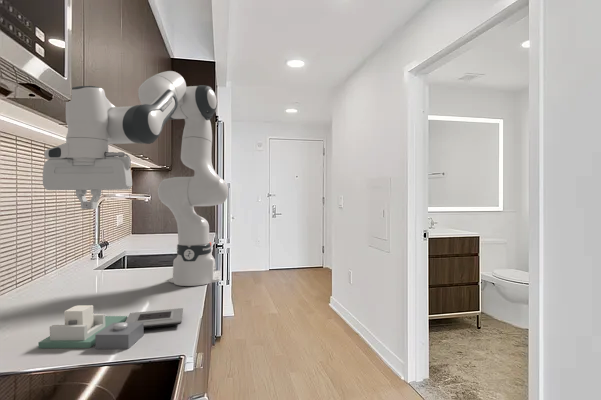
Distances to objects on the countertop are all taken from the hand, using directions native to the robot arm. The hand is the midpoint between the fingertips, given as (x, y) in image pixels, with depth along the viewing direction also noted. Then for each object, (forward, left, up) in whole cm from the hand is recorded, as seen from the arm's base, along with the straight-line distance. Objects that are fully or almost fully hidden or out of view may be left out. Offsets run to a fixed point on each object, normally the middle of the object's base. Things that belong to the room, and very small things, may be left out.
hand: (88, 208), depth 86 cm
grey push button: (+9, +12, -29) cm, 33 cm away
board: (+4, +1, -29) cm, 29 cm away
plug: (+7, +1, -27) cm, 28 cm away
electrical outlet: (-2, +15, -30) cm, 33 cm away
